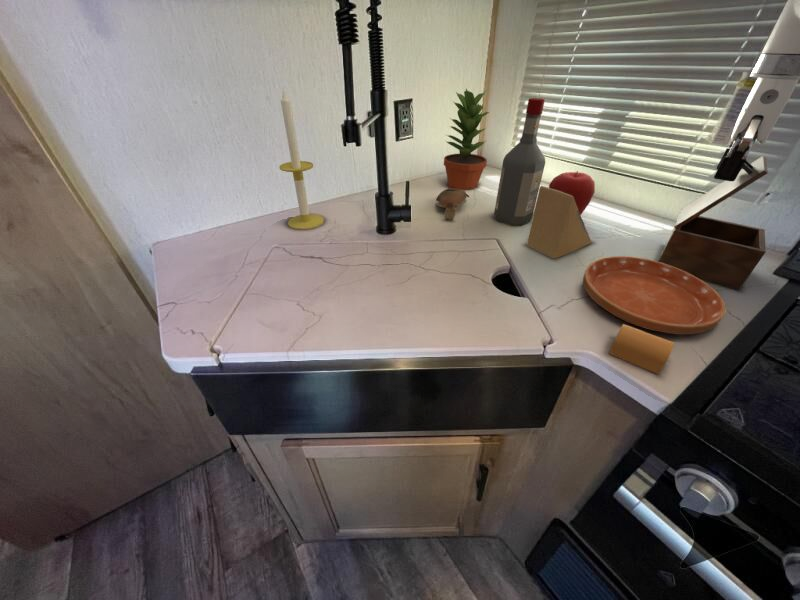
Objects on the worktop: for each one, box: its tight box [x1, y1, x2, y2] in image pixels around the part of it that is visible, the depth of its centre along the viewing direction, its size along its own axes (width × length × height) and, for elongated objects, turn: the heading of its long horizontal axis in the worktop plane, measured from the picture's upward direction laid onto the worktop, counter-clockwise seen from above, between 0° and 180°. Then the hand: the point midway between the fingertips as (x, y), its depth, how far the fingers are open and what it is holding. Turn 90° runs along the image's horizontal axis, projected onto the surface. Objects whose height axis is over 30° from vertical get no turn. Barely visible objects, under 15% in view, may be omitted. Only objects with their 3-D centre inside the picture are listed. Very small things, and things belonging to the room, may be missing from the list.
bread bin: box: [657, 215, 767, 291], centre depth 76 cm, size 15×13×9 cm
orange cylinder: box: [608, 323, 675, 375], centre depth 55 cm, size 7×4×4 cm, turn 51°
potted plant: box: [443, 87, 490, 191], centre depth 115 cm, size 15×15×30 cm
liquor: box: [493, 97, 546, 227], centre depth 91 cm, size 9×9×30 cm
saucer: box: [582, 255, 727, 335], centre depth 67 cm, size 23×23×4 cm
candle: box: [278, 87, 325, 230], centre depth 89 cm, size 10×10×32 cm
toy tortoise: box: [435, 187, 470, 221], centre depth 105 cm, size 20×5×10 cm
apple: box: [548, 170, 596, 216], centre depth 97 cm, size 12×12×13 cm
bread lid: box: [673, 155, 769, 229], centre depth 71 cm, size 16×13×5 cm
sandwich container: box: [526, 185, 593, 259], centre depth 83 cm, size 9×15×15 cm, turn 123°
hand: (724, 174), depth 69 cm, fingers open, 7 cm apart
